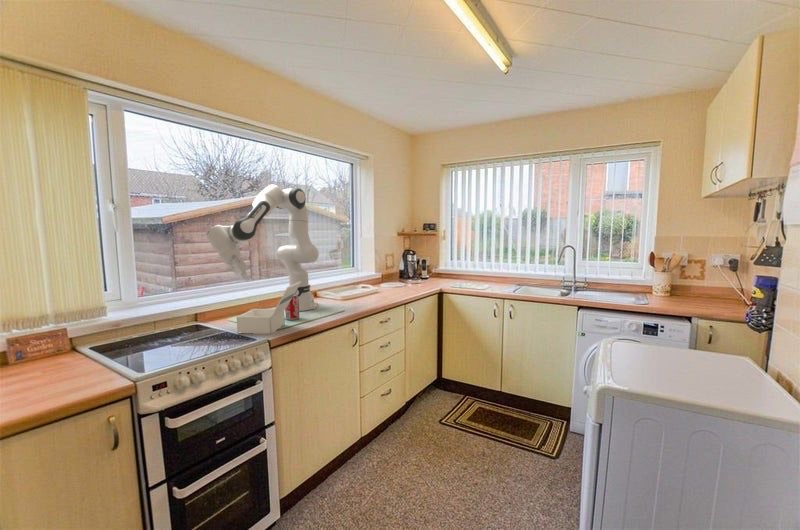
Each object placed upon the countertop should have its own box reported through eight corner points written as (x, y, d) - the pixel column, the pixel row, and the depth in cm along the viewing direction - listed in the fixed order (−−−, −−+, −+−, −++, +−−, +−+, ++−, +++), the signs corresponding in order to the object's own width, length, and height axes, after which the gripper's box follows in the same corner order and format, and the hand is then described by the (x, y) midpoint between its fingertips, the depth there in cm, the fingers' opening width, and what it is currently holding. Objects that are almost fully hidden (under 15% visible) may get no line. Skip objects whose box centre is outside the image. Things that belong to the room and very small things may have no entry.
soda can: (295, 320, 183) (294, 296, 181) (283, 320, 184) (281, 296, 183) (301, 317, 190) (300, 294, 188) (289, 316, 191) (288, 293, 190)
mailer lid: (300, 281, 173) (301, 282, 173) (284, 308, 175) (285, 308, 175) (287, 287, 157) (288, 287, 157) (270, 316, 159) (272, 317, 159)
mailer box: (254, 324, 177) (253, 308, 176) (284, 324, 176) (283, 309, 175) (237, 333, 161) (236, 316, 160) (271, 334, 160) (270, 317, 159)
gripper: (240, 250, 161) (257, 275, 164) (235, 256, 178) (250, 278, 181) (227, 257, 158) (245, 282, 161) (223, 262, 175) (239, 285, 178)
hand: (248, 280), depth 171 cm, fingers closed
